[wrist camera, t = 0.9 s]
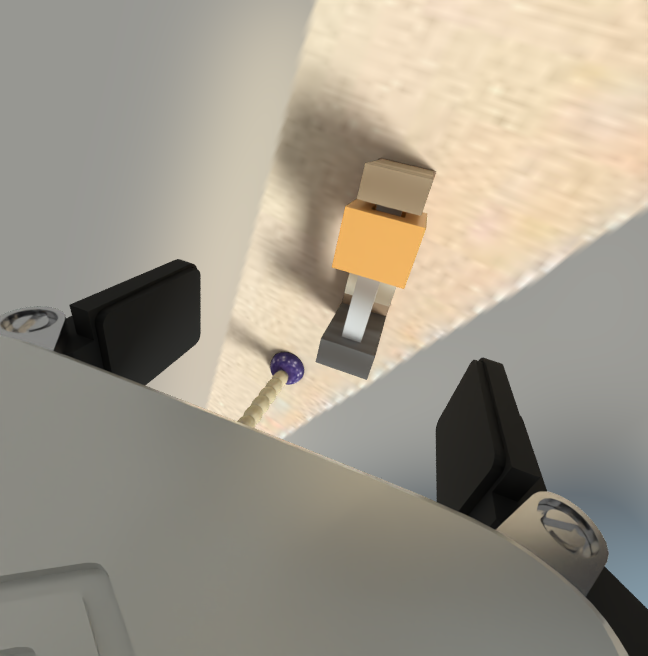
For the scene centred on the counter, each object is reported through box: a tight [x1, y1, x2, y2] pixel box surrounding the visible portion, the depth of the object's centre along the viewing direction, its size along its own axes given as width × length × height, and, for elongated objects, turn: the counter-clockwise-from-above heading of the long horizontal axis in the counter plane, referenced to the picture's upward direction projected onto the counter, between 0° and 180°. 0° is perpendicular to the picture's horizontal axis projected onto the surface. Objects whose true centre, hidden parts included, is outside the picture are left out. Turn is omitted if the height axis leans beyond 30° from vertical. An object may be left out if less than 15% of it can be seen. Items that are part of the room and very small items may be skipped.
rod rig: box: [316, 158, 436, 380], centre depth 26 cm, size 15×4×8 cm, turn 169°
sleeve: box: [332, 199, 427, 289], centre depth 22 cm, size 4×5×5 cm
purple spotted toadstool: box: [237, 352, 304, 428], centre depth 32 cm, size 5×5×17 cm
